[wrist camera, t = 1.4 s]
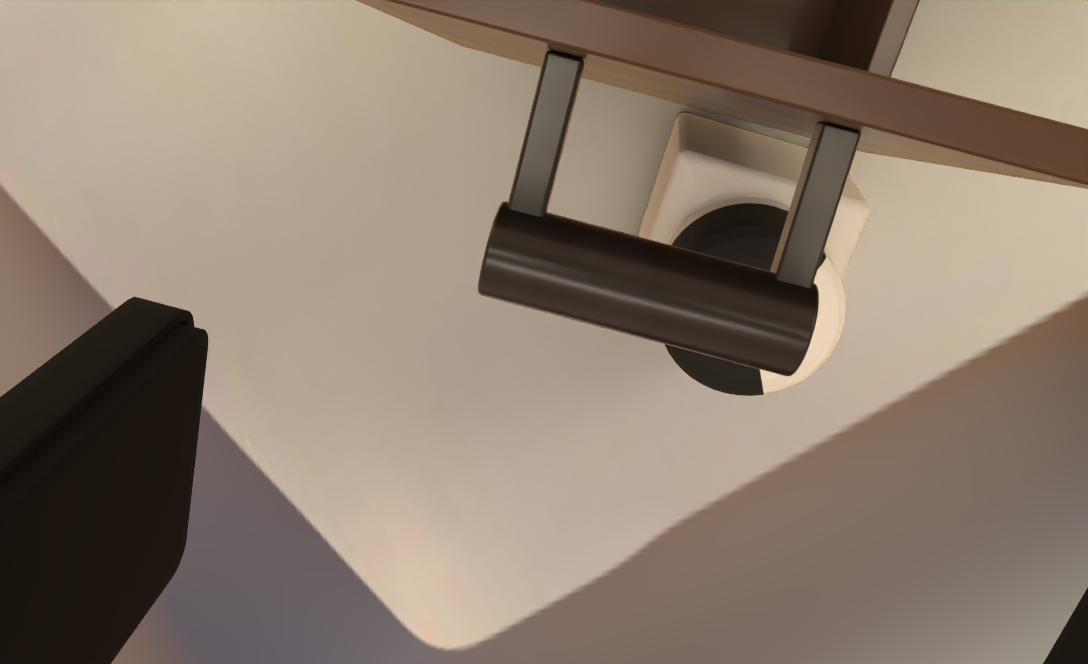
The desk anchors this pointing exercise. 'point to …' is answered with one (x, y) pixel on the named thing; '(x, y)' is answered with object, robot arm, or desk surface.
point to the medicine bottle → (746, 231)
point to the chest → (801, 25)
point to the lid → (732, 90)
